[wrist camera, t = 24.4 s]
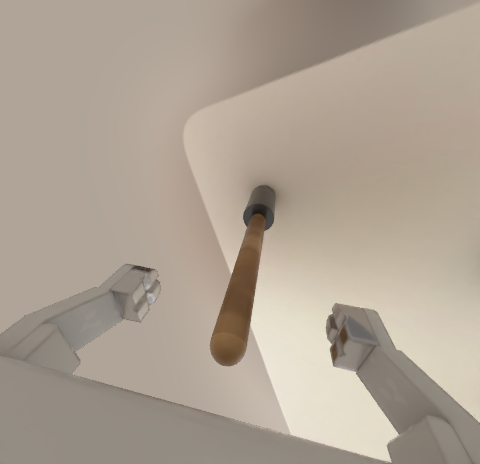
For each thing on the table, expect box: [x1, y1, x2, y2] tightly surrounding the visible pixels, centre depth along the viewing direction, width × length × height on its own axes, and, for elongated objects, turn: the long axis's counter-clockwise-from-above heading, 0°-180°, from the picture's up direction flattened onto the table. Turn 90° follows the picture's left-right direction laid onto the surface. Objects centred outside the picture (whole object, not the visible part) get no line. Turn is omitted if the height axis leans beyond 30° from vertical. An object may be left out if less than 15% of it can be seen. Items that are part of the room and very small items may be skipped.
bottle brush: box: [210, 186, 276, 366], centre depth 15 cm, size 3×3×18 cm
